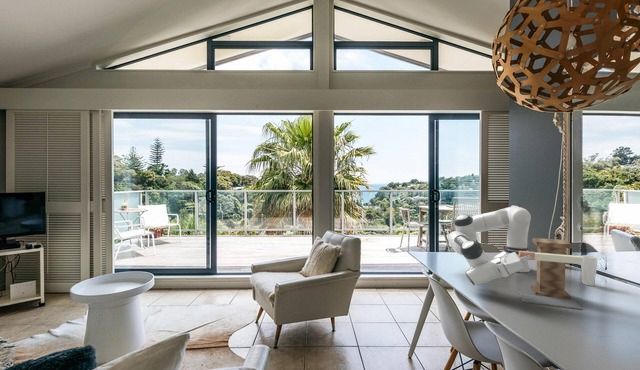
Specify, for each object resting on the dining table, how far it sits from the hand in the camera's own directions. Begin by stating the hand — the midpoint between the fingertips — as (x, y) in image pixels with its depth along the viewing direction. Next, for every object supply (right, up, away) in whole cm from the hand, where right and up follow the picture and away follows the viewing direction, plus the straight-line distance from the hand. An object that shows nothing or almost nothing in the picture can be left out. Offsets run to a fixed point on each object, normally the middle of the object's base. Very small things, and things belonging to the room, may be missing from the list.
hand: (529, 254), depth 156 cm
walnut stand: (+15, -21, +8) cm, 27 cm away
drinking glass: (+45, -21, +22) cm, 55 cm away
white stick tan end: (+6, -2, -3) cm, 7 cm away
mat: (+7, -21, -2) cm, 22 cm away
